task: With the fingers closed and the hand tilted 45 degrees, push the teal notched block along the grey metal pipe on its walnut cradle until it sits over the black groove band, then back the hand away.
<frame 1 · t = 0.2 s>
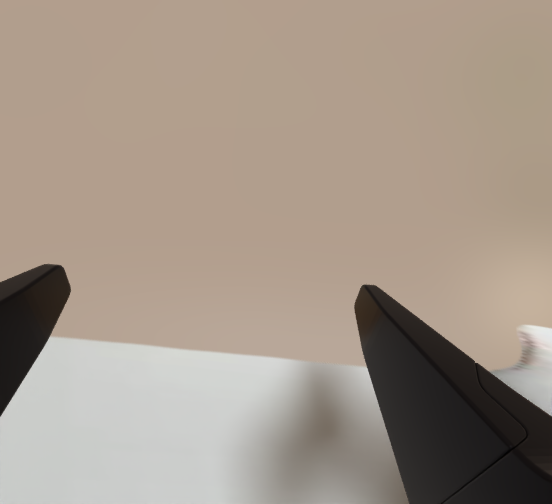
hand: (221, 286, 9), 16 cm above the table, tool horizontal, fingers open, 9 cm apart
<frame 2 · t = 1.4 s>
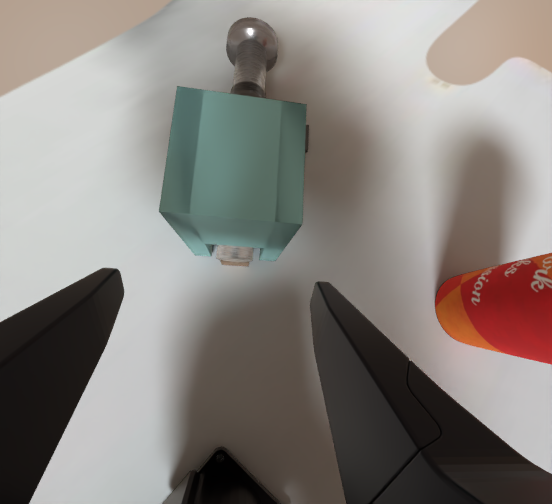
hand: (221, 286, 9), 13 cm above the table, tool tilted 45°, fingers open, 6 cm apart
paper cup: (463, 309, 23), on the table
teal notched block: (238, 196, 17), point 5 cm above the table, slide at 0.0 cm
pipe rig: (243, 164, 23), on the table
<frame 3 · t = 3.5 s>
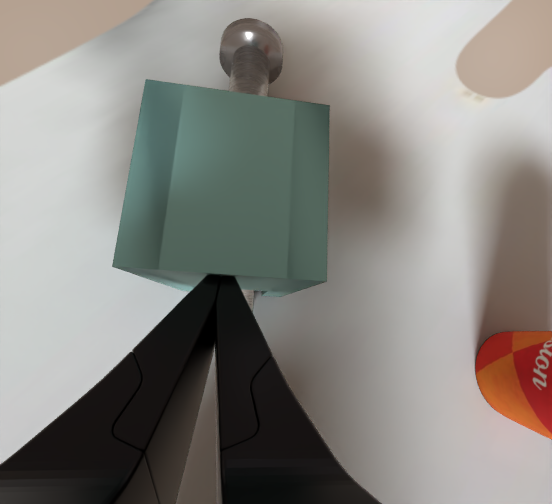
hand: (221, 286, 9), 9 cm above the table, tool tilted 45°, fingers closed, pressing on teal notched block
paper cup: (508, 373, 19), on the table
teal notched block: (235, 223, 13), point 5 cm above the table, slide at 1.4 cm, touching gripper
pipe rig: (240, 196, 19), on the table
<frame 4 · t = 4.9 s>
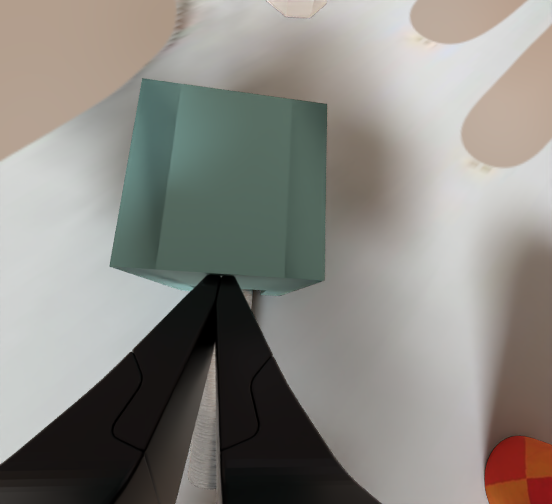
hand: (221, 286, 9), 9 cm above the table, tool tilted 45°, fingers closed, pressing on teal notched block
paper cup: (520, 482, 18), on the table
teal notched block: (233, 223, 13), point 5 cm above the table, slide at 8.0 cm, touching gripper
pipe rig: (231, 293, 18), on the table
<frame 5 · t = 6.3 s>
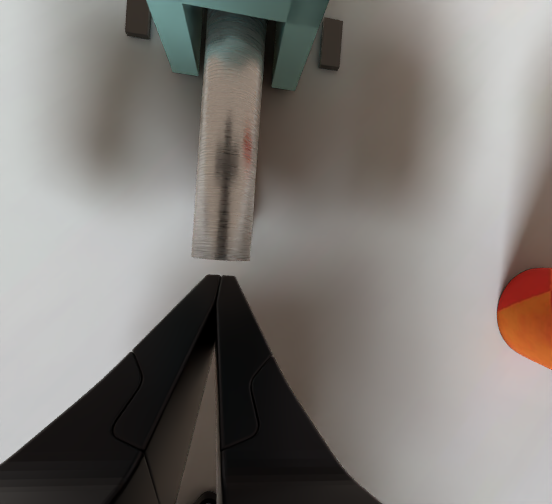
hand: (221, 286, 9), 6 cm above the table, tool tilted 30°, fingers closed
paper cup: (531, 311, 17), on the table
pipe rig: (235, 89, 14), on the table
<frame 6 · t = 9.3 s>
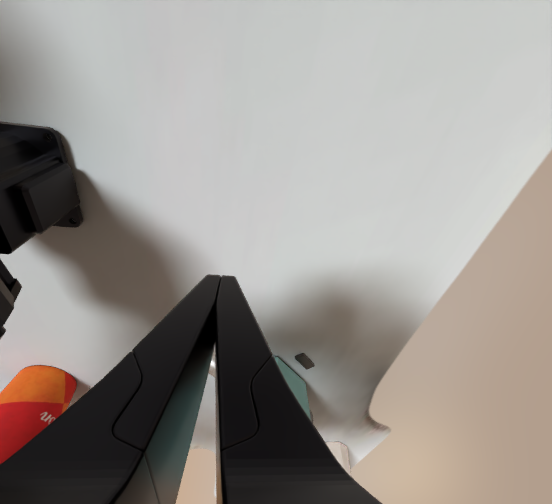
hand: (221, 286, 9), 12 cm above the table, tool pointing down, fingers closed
paper cup: (50, 378, 30), on the table
teal notched block: (270, 425, 28), point 5 cm above the table, slide at 8.2 cm
pepper shaker: (329, 447, 44), on the table
pipe rig: (252, 363, 30), on the table
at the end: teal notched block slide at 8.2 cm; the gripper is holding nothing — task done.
